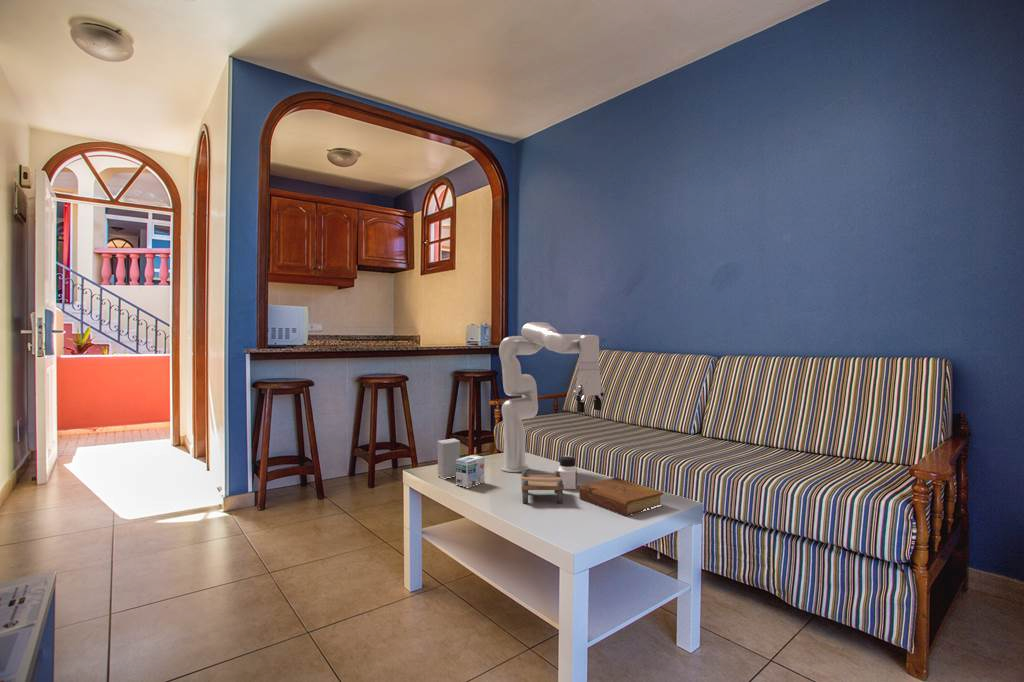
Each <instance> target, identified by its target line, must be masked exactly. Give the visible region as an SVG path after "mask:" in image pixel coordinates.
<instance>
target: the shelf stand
mask: <svg viewBox="0 0 1024 682" xmlns="http://www.w3.org/2000/svg"><path fill="white" fill-rule="evenodd" d="M553 473H554V474H528V471H523V472H521V475H520V480H521V481H520V483H521V493H522V504H523V503H524V504H523V505H527V503H528V504H529V491H554V494H556V503H557V504H559V505H561V504H563V492H564V490H565V489H564V485H563V481H562V479H561V476H560V472H559V471H558V470H556V471H554V472H553Z"/></svg>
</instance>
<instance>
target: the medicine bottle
mask: <svg viewBox="0 0 1024 682" xmlns="http://www.w3.org/2000/svg"><path fill="white" fill-rule="evenodd" d="M577 468H578V467H577V466H576V458H575V457H573V456H571V455H563V456H561V457H559V468H558V469H557V471H559V472H560V476H561V479H562V481H563V485H564V490H572V489H576V490H577V485H578V469H577Z"/></svg>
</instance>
